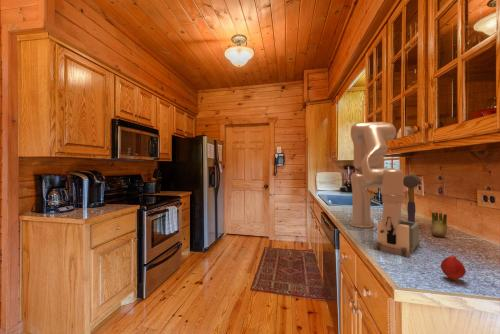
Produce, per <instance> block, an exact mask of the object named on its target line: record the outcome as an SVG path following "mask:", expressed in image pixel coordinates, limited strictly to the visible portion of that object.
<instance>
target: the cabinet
mask: <svg viewBox="0 0 500 334" xmlns="http://www.w3.org/2000/svg"><path fill="white" fill-rule="evenodd" d="M401 224H402V225H409V251H407V248H401V250H400V249H396V248H391V247H386V246H382V245H381V243H379V242H376V243H374V244H373V250H376V249H377V251H380V252H384V253H385V252H386V253H389V254H393V255H397V256H401V257H402V256H403V257H405V258H411V254H414V252H415V251H416V250H417V249H418V247H419V246H420V223H419V222H416V221H415V222H408V220H401Z"/></svg>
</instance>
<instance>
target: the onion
mask: <svg viewBox="0 0 500 334" xmlns="http://www.w3.org/2000/svg"><path fill="white" fill-rule="evenodd" d="M440 269H441V271H442V273H444V275H445V276H446V277H448V278H449V279H450V280H452V281H457V280H459V279H461V278H463V277H464V276H465V274H466V272H467V270H466V267H465V264H463V263H462V261H460V260H459V259H458V258H457V256H456V255H455V254H451V255H450V256H448V257H446V258H444V259H443V260H442V261H441V263H440Z"/></svg>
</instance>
